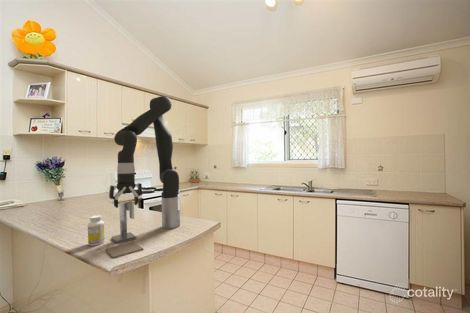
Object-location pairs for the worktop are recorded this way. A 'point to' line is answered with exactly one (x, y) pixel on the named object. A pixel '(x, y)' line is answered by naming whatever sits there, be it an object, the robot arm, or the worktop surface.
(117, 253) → the cork mat
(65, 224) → the worktop surface
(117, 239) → the stand
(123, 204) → the hook
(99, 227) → the supplement bottle
